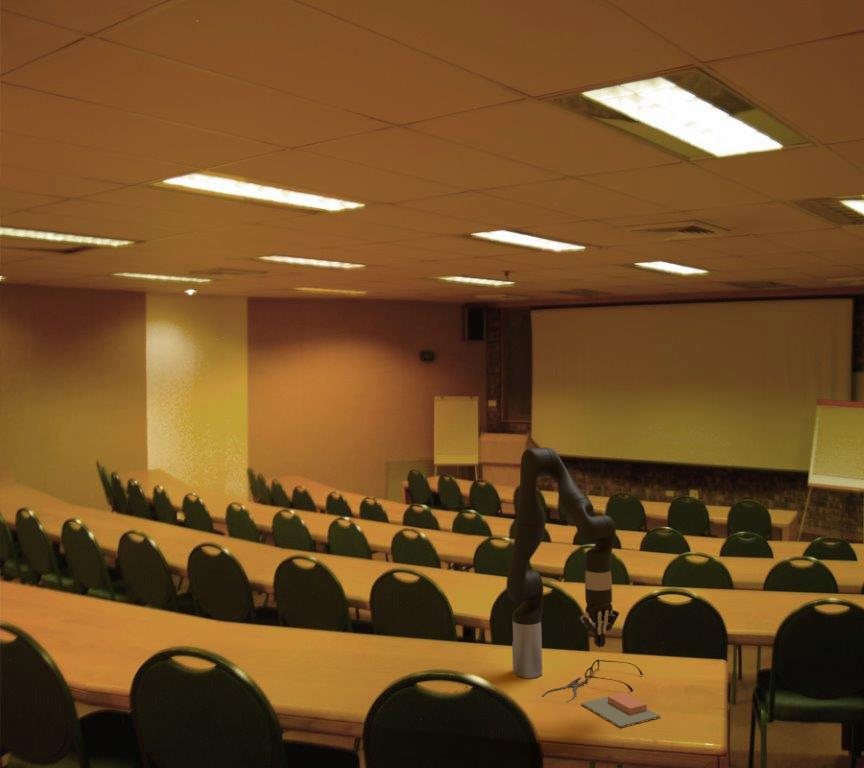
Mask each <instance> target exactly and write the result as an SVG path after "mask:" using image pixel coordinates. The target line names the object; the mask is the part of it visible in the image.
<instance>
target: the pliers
mask: <svg viewBox="0 0 864 768" xmlns="http://www.w3.org/2000/svg"><path fill="white" fill-rule="evenodd" d="M578 680H579V681H580V680H581V677H578V678H576V679H574V680H572V681H571V682H570V683H568V684H567V685H565V686H561V687H557V688H553V689H549V690H547V691H545V692H544V693H542V695H541V697H542V698H544V697H545V696H546V695H548V694H550V693H552V692H557V691H562V690H561V689H563V690H567V689H566V688H568V689H570V687H571V688H572V693H573V692H574V694H573V697H572V698H570V699H569V700H566V702H569V701H571V700H573V699H574V698H575V697H577V691H578V689H579V688H581V687H583V686H585V685H584V684H586V685H587V683H586V679H585V680H583V681H581V682H579V681H578ZM587 681H588V682H589V679H588V678H587ZM576 682H578V683H576ZM582 685H583V686H582ZM580 686H581V687H580ZM578 687H579V688H578ZM577 688H578V689H577ZM576 690H577V691H576ZM547 693H548V694H547ZM575 699H576V698H575ZM575 699H574V700H575ZM574 700H573V701H574ZM571 702H572V701H571ZM569 703H570V702H569Z"/></svg>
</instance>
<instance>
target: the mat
mask: <svg viewBox="0 0 864 768" xmlns="http://www.w3.org/2000/svg"><path fill="white" fill-rule="evenodd" d="M580 704H582V705H584V706H585V707H587V708H589V709H590V710H592V711H594V712H595V713H594V712H593V713H594V714H596V713H597V714H599V715H601V716H602V717H604V718H605V719H604V718H603V719H604V720H606V719H607V720H609V721H610V723H611V722H612V723H614V724H615V725H614V724H613V725H614V726H616V725H617V726H616V727H618V728H619V727H620V728H619V729H622V728H621V727H623V728H625V727H624V726H627V727H629V726H628V725H631V726H633V725H632V724H635V725H637V724H636V723H639V724H641V723H640V722H642V721H646V720H650V719H654V718H658V717H660V718H661V715H660V714H658V713H656V712H654V711H653V710H650V709H649V708H647V711H643V712H639V713H635V714H632V715H629V714H628V713H626V712H624V711H622V710H621V709H619V708H617V707H615V706H613V705H612V704H610V703H608V696H604V697H601V698H596V699H592V700H587V701H584V702H580ZM582 705H581V706H582ZM584 706H583V707H584ZM585 707H584V708H585ZM587 708H586V709H587ZM589 709H588V710H589ZM590 710H589V711H590ZM592 711H591V712H592ZM597 714H596V715H597ZM599 715H598V716H599ZM601 716H600V717H601ZM602 717H601V718H602ZM658 719H659V718H658ZM607 720H606V721H607ZM654 720H655V719H654ZM609 721H608V722H609ZM650 721H651V720H650ZM646 722H647V721H646ZM612 723H611V724H612ZM642 723H643V722H642Z"/></svg>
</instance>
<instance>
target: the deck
mask: <svg viewBox="0 0 864 768" xmlns="http://www.w3.org/2000/svg"><path fill="white" fill-rule="evenodd" d="M607 697H608V703H610V704H612V705H613V706H615V707H617V708H619V709H621V710H622V711H624V712H626V713H628V714H629V715H632V714H635V713H639V712H643V711H647V709H648V707H647V706H648V705H647V703H645V702H643V701H641V700H639V699H637V698H635V697H634V696H632V695H629V693H626V692H619V693H617V694H616V693H615V694H611V695H607Z"/></svg>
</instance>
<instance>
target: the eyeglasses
mask: <svg viewBox="0 0 864 768" xmlns="http://www.w3.org/2000/svg"><path fill="white" fill-rule="evenodd" d="M600 662H605V663H606V662H607V663H618V661H616V660H603V659H597V660H594V661H593V663H592V664H591V666H590V667H589V668H587V669H586V671H585V672H584V678H585V680H586V684H588V683H589V681H588V682H587V679H588V678H590V677H591V679H593V678H594V679H601V680H606V681H607V680H609V681H615V682H619V683H622V684H624V685H625V686H626V687H627V688H628V690H631V691H630V692H633V691H632V690H634V689H633V688H632V686H630V685H629V684H628V683H626V682H623V681H621V680H616V679H612V678H605V677H597V676H593V674H594V675H595V671H594V669H593V667H594V665H595V664H596V663H597V671H598V670H599V669H600ZM619 663H620V664H621V663H623V664H629V665H632V666H634V667H635V668H636V669H638V672H639V674H640V676H641V675H643V676H644V673H643V672H642V670H641V669H640V667H638V666H637V665H635V664H633V663H630V662H626V661H625V662H624V661H619ZM588 671H589V675H587V673H588ZM599 671H600V670H599Z"/></svg>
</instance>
